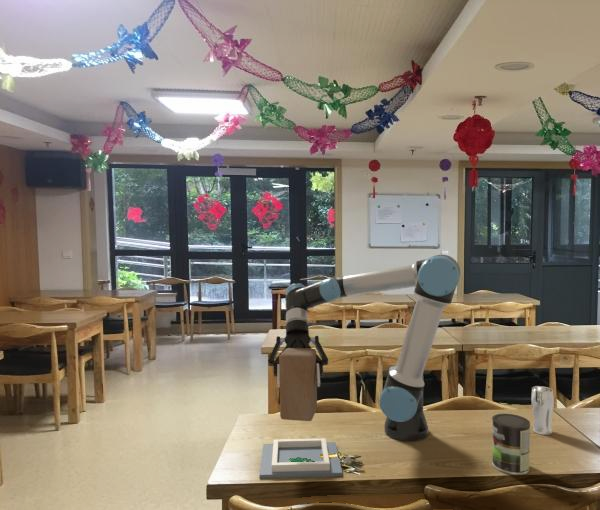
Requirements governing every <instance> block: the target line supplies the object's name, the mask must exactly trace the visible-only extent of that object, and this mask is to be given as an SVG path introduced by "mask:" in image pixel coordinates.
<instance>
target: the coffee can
mask: <svg viewBox="0 0 600 510" xmlns="http://www.w3.org/2000/svg"><path fill="white" fill-rule="evenodd" d="M491 419H492V457H491V458H492V462H491V464H492V466H493V467H494V468H495V469H497V470H498V471H500V472H502V473H505V474H508V475H514V476H523V475H526V474H527V473H529V472H530V445H531V444H530V441H531V440H530V438H531V437H530V433H531V432H530V431H531V422H530V421H529V419H527V418H526V417H524V416H521V415H519V414H518V415H517V414H513V413H498V414H495V415H493V416H492V417H491Z"/></svg>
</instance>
